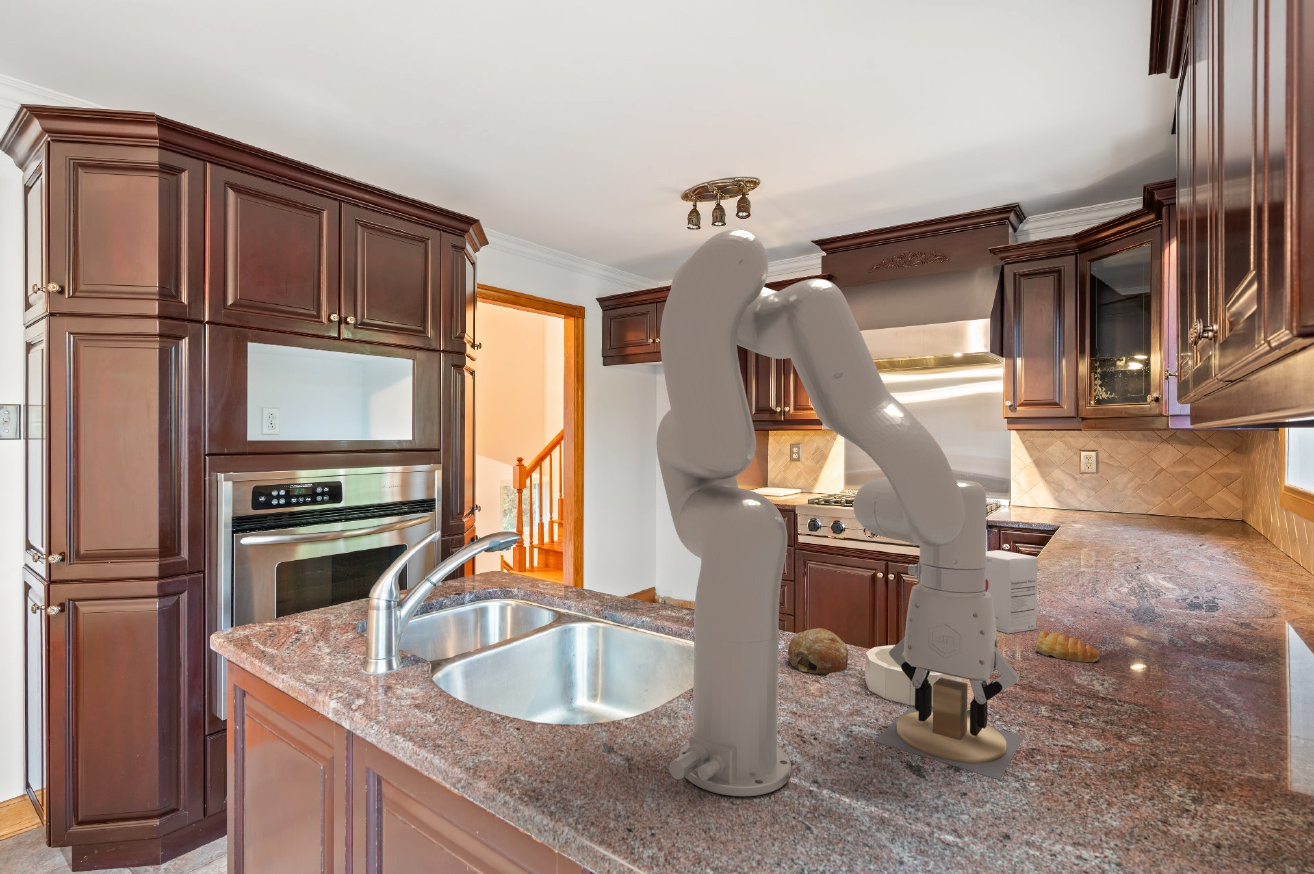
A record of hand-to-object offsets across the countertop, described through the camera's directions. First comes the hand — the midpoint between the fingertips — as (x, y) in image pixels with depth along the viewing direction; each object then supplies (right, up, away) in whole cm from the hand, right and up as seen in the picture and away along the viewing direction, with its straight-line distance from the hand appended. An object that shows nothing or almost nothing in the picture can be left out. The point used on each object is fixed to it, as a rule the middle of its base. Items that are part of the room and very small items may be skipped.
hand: (950, 723), depth 81 cm
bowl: (+2, -3, +17) cm, 17 cm away
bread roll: (-9, -3, +28) cm, 30 cm away
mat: (0, -2, 0) cm, 2 cm away
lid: (0, -2, 0) cm, 2 cm away
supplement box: (+35, -4, +54) cm, 64 cm away
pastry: (+37, -4, +36) cm, 51 cm away
